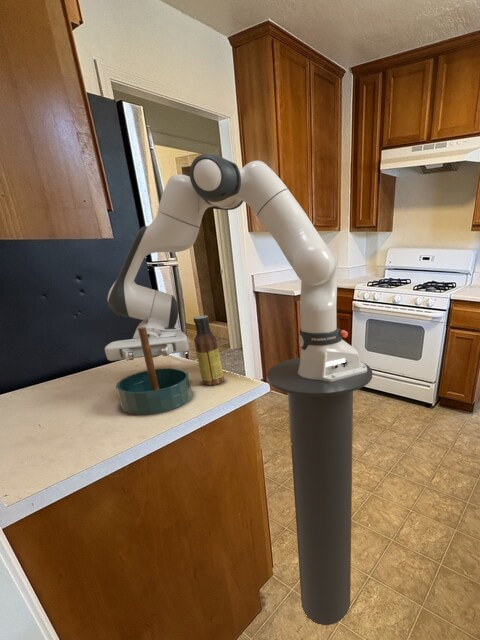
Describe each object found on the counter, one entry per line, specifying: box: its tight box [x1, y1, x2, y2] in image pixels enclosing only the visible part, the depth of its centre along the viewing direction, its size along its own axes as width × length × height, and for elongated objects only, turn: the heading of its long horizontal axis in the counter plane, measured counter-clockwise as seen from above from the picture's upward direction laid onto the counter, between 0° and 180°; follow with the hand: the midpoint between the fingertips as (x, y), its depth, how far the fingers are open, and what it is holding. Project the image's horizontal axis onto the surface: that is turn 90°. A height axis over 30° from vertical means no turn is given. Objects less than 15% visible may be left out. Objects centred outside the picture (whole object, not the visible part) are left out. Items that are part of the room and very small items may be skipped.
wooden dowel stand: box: [138, 327, 159, 391], centre depth 91 cm, size 5×5×19 cm
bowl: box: [115, 367, 193, 416], centre depth 94 cm, size 17×17×6 cm
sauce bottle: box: [192, 315, 225, 386], centre depth 102 cm, size 7×6×20 cm
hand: (147, 355), depth 89 cm, fingers open, 7 cm apart
